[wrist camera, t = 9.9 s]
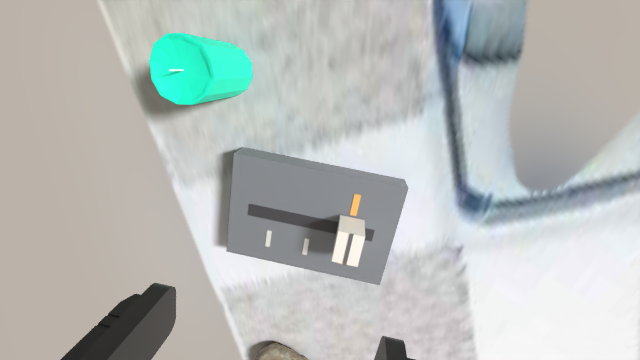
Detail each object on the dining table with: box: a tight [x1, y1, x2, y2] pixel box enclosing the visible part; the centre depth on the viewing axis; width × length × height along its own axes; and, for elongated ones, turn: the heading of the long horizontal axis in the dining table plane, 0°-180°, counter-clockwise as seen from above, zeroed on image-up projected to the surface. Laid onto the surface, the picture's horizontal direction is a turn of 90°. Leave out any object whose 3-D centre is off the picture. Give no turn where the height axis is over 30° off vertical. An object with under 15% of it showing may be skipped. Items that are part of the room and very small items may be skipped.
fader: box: [332, 215, 365, 267], centre depth 36 cm, size 4×3×4 cm
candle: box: [149, 33, 253, 105], centre depth 31 cm, size 6×6×12 cm
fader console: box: [227, 147, 408, 285], centre depth 40 cm, size 14×21×3 cm, turn 80°
